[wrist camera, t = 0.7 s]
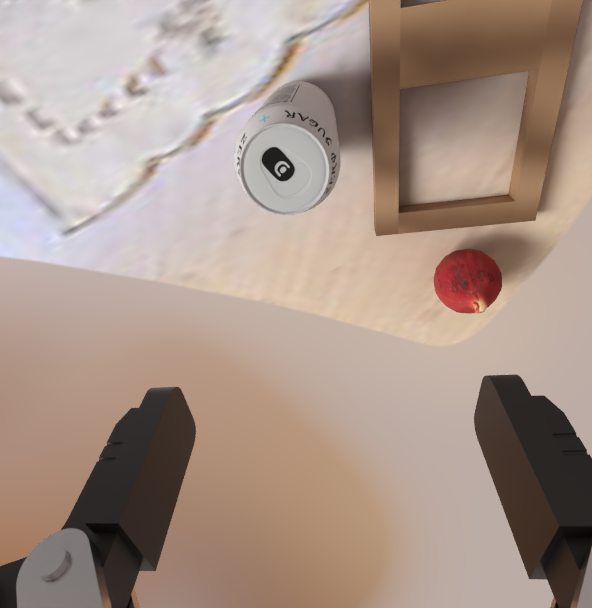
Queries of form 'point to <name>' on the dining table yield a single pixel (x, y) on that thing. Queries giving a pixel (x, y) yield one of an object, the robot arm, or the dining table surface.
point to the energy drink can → (289, 150)
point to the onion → (467, 281)
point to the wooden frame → (462, 66)
